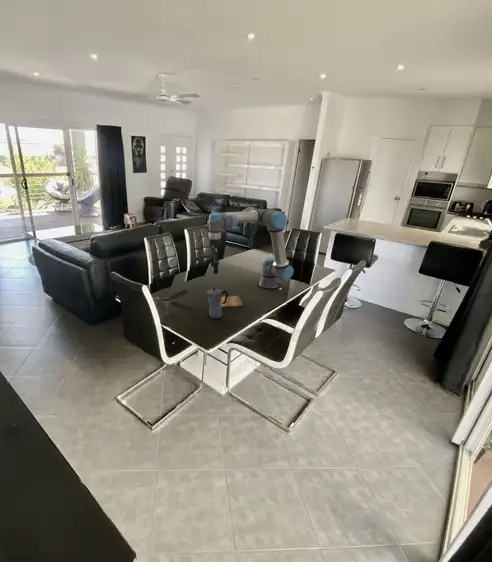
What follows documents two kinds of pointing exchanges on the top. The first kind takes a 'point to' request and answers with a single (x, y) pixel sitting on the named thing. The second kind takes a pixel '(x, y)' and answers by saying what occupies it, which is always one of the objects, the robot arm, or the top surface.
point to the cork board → (231, 302)
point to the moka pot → (215, 302)
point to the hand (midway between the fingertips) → (214, 270)
